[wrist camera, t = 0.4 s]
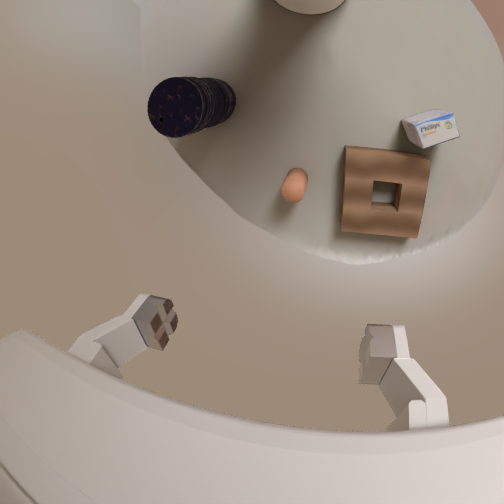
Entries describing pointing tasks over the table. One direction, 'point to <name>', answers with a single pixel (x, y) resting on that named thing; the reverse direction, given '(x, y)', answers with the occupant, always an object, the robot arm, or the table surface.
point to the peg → (294, 185)
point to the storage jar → (189, 105)
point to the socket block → (388, 170)
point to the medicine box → (430, 128)
